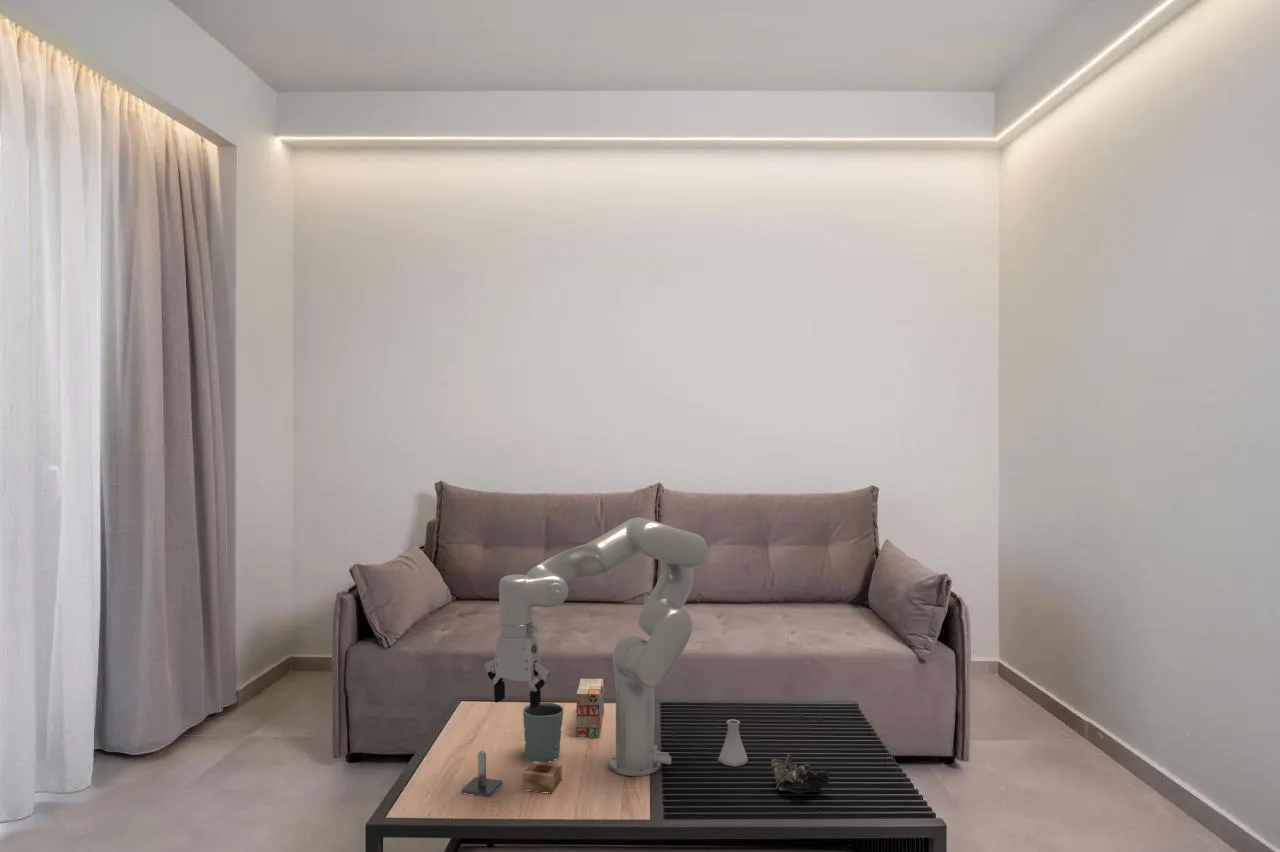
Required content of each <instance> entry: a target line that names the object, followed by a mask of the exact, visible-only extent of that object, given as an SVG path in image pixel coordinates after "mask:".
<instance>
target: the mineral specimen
mask: <svg viewBox="0 0 1280 852" xmlns="http://www.w3.org/2000/svg"><path fill="white" fill-rule="evenodd" d="M770 764H771V769H772V773H773V774H774V778H775V782H776V783H777V784H776V785H775V788H774V789H775V790H778V791H781V792H782V791H785V792H788V791H789V792H791V793H796V794H800V795H803V794H804V793H805V792H809V793H810V792H811V793H812V792H813V793H815V792H817V793H818V792H820V791H821V790H822V789H823V786H821V785H829V784H830V782H829V781H830V779H829V777H830V776H829V772H828V770H825V769H824V770H820V771H818V772H815V771H813V770H812V768H811V767H812V766H811V762H810V761H806V762H805V763H804V764H802V765H800V766H798V764H797V762H793V759H792V756H791V753H789V752H787V754H786V758H785V760H783V759H781V758H774V757H773V759H772V760H771V763H770Z"/></svg>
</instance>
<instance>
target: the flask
mask: <svg viewBox="0 0 1280 852" xmlns="http://www.w3.org/2000/svg"><path fill="white" fill-rule="evenodd" d="M725 724H727V732H726V737H725V740H724V743H723V746H722V749H721V751H720V754H719V756H718V758H717V761H718V762H720V763H721V764H723V765H725V766H729V767H734V768H736V767H740V766H744V765H746V763H748V761H749V758H748V756H747V755H748V754H747V752H746V749H745V747H744V745H743V741H742V739H741V734H740V725H741V721H739V720H737V719H728V720H727V721H726V722H725Z"/></svg>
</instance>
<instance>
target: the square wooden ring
mask: <svg viewBox="0 0 1280 852" xmlns="http://www.w3.org/2000/svg"><path fill="white" fill-rule="evenodd" d="M561 781H562V782H563V764H562V763H554V762H539V761H534V762H531V764H530V765H529V766H528V767H527V769H526V770H525V771H523V773H522V790H530V791H529V792H531V791H538V792H537V793H539V792H548V793H549V792H550V793H552V792H553V790H554V789H555V788H556V787H557V786H558V784H559V783H560V782H561ZM562 782H561V783H562ZM561 783H560V784H561ZM560 784H559V785H560ZM558 787H559V786H558ZM558 787H557V788H558ZM557 788H556V789H557ZM556 789H555V790H556ZM553 793H554V792H553ZM553 793H552V794H553Z"/></svg>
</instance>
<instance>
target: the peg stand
mask: <svg viewBox="0 0 1280 852" xmlns="http://www.w3.org/2000/svg"><path fill="white" fill-rule="evenodd" d="M477 756H478V757H477V761H478V763H477V766H478V768H477V770H478V771H477V772H478V775H477V776H475V777H473V778H472V779H471V780H470V781H469V782H468V783H467V784H466V785H465V786H464V787H463V788H462V789H461V794H462V793H467V794H466V795H469V794H473V795H472V796H477V795H482V796H481V797H485V796H488V797H487V798H490V797H492V795H494V793H496V791H497V790H498V789H499V788H500V787H501V786H502V785H503V780H500V779H494V778H487V753H486V751H484V750H481V751H479V752H478V755H477ZM501 784H502V785H501ZM500 785H501V786H500ZM499 786H500V787H499ZM498 787H499V788H498ZM497 788H498V789H497ZM496 789H497V790H496Z"/></svg>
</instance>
